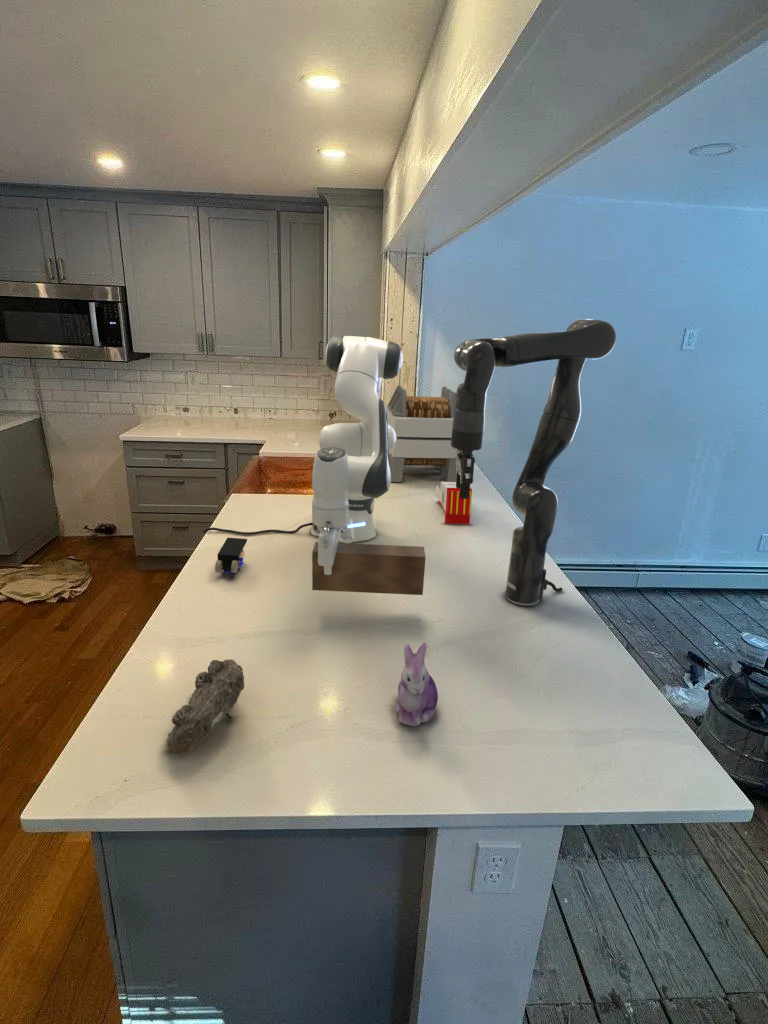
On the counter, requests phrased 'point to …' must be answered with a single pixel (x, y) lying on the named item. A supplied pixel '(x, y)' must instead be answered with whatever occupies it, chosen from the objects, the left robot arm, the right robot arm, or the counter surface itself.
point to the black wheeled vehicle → (230, 556)
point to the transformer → (422, 432)
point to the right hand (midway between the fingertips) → (462, 492)
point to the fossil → (206, 705)
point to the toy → (454, 503)
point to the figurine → (416, 689)
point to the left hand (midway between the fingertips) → (329, 566)
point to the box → (372, 569)
